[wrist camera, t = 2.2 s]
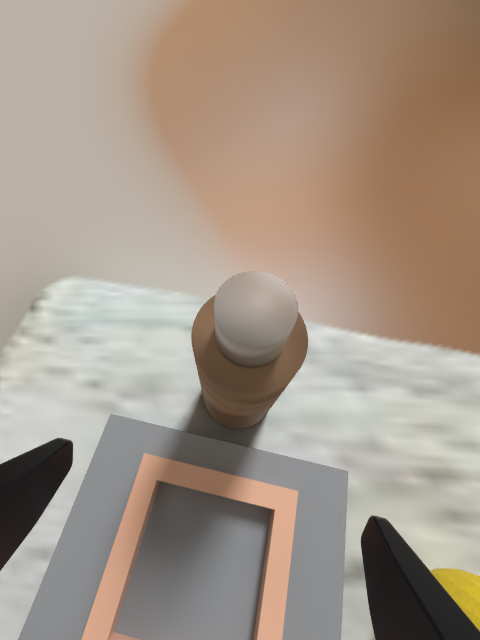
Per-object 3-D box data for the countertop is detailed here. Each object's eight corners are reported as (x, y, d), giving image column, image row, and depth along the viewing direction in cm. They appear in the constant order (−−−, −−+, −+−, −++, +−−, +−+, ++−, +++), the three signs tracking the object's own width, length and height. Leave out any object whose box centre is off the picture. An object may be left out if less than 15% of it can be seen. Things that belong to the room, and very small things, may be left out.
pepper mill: (240, 445, 21) (264, 407, 9) (189, 395, 22) (155, 306, 10) (284, 392, 22) (352, 304, 11) (235, 349, 24) (250, 230, 12)
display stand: (327, 772, 14) (344, 819, 12) (9, 679, 15) (-22, 710, 13) (342, 471, 20) (355, 470, 18) (115, 416, 21) (104, 410, 19)
